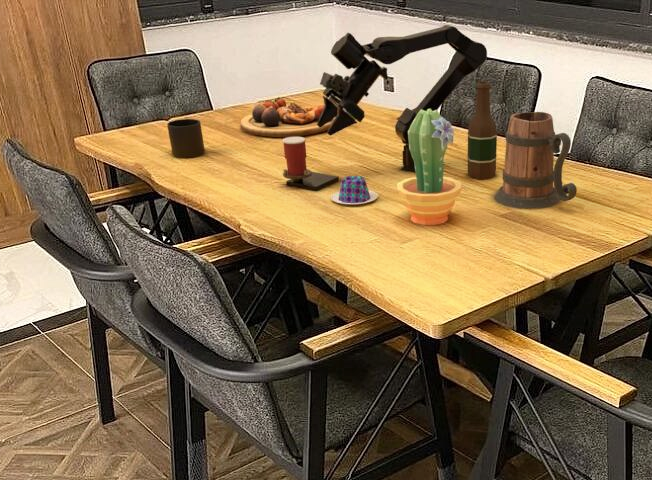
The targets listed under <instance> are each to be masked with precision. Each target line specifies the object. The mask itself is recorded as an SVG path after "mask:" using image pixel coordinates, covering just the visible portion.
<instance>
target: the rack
mask: <svg viewBox="0 0 652 480" xmlns="http://www.w3.org/2000/svg"><path fill="white" fill-rule="evenodd" d="M282 177H283V178H284V179H288V180H286V182H285V183H286V184H285V185H286V186H287V187H292V188H297V189H303V190H307V191H313V192H318V191H320V190H323V189H324V188H327V187H329V186H331V185H333V184H335V183H338V182H339V181H340V177H339V175H332V174H327V173H321V172H315V171H312V170H310V169H308V168H307V170H304V174H303V175H289V174H288V170H287V168H284V169H283V172H282Z"/></svg>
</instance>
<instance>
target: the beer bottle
mask: <svg viewBox="0 0 652 480" xmlns="http://www.w3.org/2000/svg"><path fill="white" fill-rule="evenodd" d="M475 87H476V99H475V110H474V114H473V116H472V118H471V119H470V121H469V124H468V126H467V127H468V129H467V175H468V176H469V178H471V179H475V180H489V179H490V180H491V178H494V177H495V176H496V173H497V146H498V143H497V142H498V130H497V129H498V128H497V123H496V122H495V120H494V118H493V116H492V114H491V99H490V89H491V83H490V82H488V81H478V82H477V83H476V85H475Z"/></svg>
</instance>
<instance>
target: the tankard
mask: <svg viewBox="0 0 652 480" xmlns="http://www.w3.org/2000/svg"><path fill="white" fill-rule="evenodd" d="M507 127H508V128H507V130H506V132H505V155H504V165H503V166H504V167H503V168H504V169H503V170H502V177H501V178H502V185H501V186H500V187H499V188H498V191H497V192H496V193H495V194H494V195H493V200H495V202H497V204H501V205H502V206H506V207H509V208H514V209H525V210H526V209H527V210H528V209H529V210H530V209H531V210H534V209H543V208H549V207H552V206H555V205H557V204H559V203H560V202H561V201H562V202H569V201H571V200H573V199H574V198H575V197H576V195H577V192H578V190H577V186H576V185H575V183H573V182H569V183H566V184H563V177H562V176H563V166H564V163H565V160H566V158H567V156H568V154H569V153H570V150H571V144H572V142H571V141H572V140H571V137H570V136H569V134H567V133H566V132H561V133H557V134H556V132H555V127H554V119H553V115H551V113H548V112H544V111H532V112H531V111H530V112H529V111H528V112H527V111H526V112H524V111H522V112H516V113H513V114H511V115H510V118H509V122H508V126H507ZM556 154H557V155H558V154H559V155H558V156H557V158H556V161H555V156H554V155H556ZM554 161H555V162H554Z"/></svg>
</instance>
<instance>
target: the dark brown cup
mask: <svg viewBox="0 0 652 480" xmlns="http://www.w3.org/2000/svg"><path fill="white" fill-rule="evenodd" d="M166 126H167V132H168V136H169V142H170V148H171V149H170V150H171V154H172V156H173V157H176V158H180V159H190V158H191V159H192V158H197V157H200V156H202V155H204V154H205V152H206V150H205V142H204V137H203V131H202V130H203V129H202V124H201V121H200V120H199V119H196V118H195V119H194V118H181V119H180V118H179V119H174V120H171V121H168V122H167V124H166Z"/></svg>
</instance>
